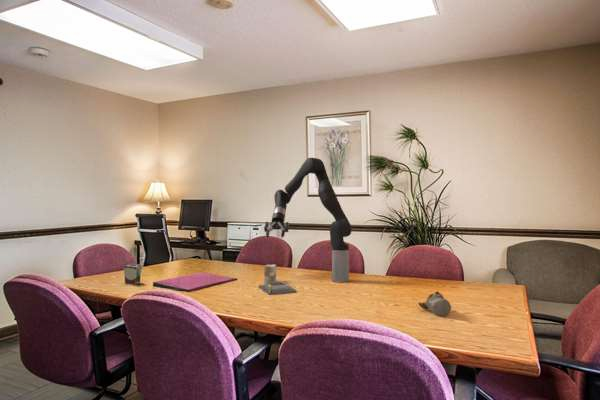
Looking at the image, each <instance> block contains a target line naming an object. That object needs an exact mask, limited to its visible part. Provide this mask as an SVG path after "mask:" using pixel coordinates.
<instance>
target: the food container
mask: <svg viewBox="0 0 600 400" xmlns="http://www.w3.org/2000/svg"><path fill="white" fill-rule="evenodd" d="M122 269H123V274H124V284H127V285H132V286H138V285H140V284H141V273H142V270H143V266H142V264H141V263H140V264H139V263H128V264H123V268H122Z"/></svg>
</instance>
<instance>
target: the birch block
mask: <svg viewBox="0 0 600 400" xmlns="http://www.w3.org/2000/svg"><path fill="white" fill-rule="evenodd" d="M263 273H264V274H263V275H264V276H263V277H264V279H263V282H264V283H263V284H265V282H275V281H277V264H266V265H264V266H263Z"/></svg>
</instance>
